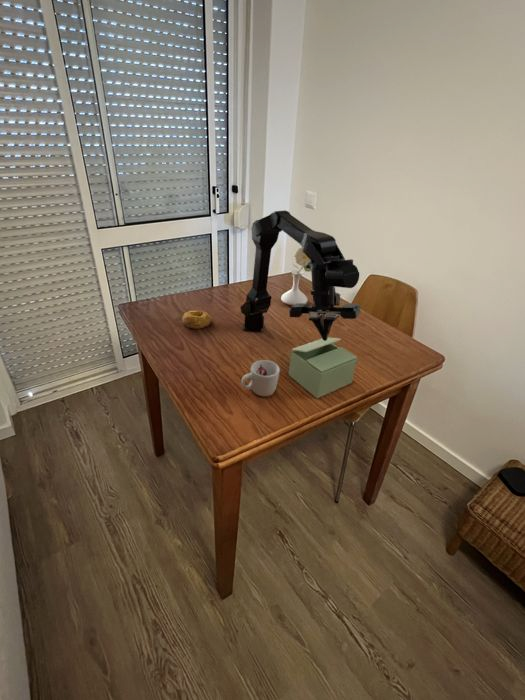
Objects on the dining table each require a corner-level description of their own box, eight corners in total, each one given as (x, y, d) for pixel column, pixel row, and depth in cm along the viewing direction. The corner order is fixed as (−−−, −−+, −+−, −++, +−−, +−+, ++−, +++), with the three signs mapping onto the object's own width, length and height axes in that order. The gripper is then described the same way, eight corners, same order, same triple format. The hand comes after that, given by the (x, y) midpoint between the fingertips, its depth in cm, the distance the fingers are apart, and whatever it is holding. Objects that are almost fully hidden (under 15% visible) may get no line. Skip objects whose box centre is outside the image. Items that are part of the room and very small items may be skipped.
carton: (288, 374, 107) (291, 349, 102) (322, 361, 114) (326, 337, 109) (317, 398, 98) (321, 371, 93) (351, 382, 105) (357, 357, 100)
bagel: (215, 326, 130) (215, 315, 127) (186, 332, 126) (185, 320, 123) (207, 315, 137) (206, 304, 135) (179, 320, 133) (178, 308, 130)
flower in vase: (275, 303, 151) (280, 244, 137) (289, 295, 159) (295, 239, 145) (302, 312, 145) (309, 251, 131) (314, 303, 153) (323, 245, 139)
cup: (246, 405, 94) (247, 381, 90) (236, 387, 100) (236, 364, 96) (282, 396, 98) (284, 373, 94) (270, 379, 104) (272, 357, 100)
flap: (291, 350, 102) (291, 348, 102) (326, 338, 109) (326, 337, 109) (305, 352, 97) (305, 351, 97) (341, 339, 104) (341, 338, 104)
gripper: (364, 279, 96) (365, 333, 101) (301, 280, 105) (305, 330, 110) (354, 286, 87) (355, 345, 92) (286, 287, 96) (290, 341, 101)
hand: (325, 340), depth 99 cm, fingers closed
